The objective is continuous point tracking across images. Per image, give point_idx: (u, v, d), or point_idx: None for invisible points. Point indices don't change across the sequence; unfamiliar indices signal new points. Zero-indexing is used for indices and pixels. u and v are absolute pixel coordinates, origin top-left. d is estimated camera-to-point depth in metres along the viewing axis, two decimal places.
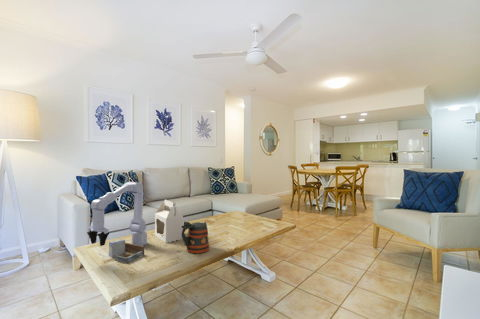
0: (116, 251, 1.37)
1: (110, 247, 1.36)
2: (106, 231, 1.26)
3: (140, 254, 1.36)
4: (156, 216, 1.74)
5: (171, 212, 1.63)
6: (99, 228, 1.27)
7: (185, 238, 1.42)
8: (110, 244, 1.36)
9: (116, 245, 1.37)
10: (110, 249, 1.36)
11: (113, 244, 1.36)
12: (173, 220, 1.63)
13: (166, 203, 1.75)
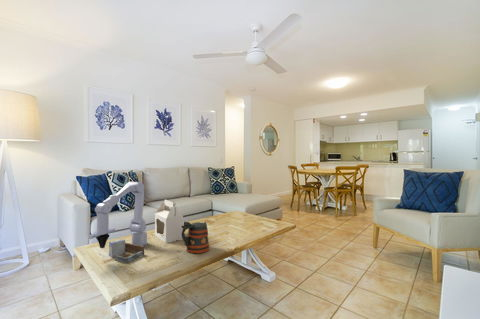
0: (116, 251, 1.37)
1: (110, 247, 1.36)
2: (89, 236, 1.24)
3: (140, 254, 1.36)
4: (156, 216, 1.74)
5: (171, 212, 1.63)
6: (97, 232, 1.29)
7: (185, 238, 1.42)
8: (110, 244, 1.36)
9: (116, 245, 1.37)
10: (110, 249, 1.36)
11: (113, 244, 1.36)
12: (173, 220, 1.63)
13: (166, 203, 1.75)
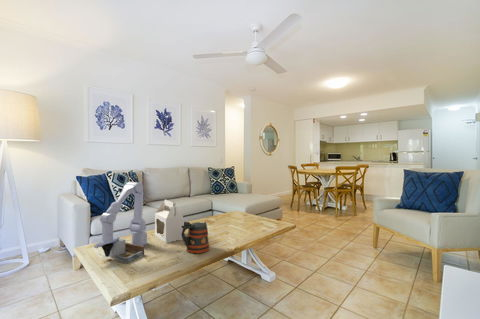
0: (117, 250, 1.37)
1: None
2: (95, 246, 1.27)
3: (140, 254, 1.36)
4: (156, 216, 1.74)
5: (171, 212, 1.63)
6: (102, 241, 1.31)
7: (185, 238, 1.42)
8: None
9: (116, 245, 1.37)
10: None
11: None
12: (173, 220, 1.63)
13: (166, 203, 1.75)
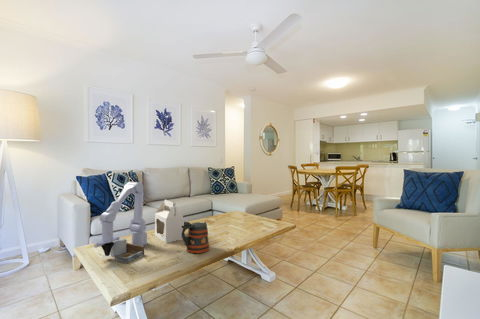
0: (118, 250, 1.38)
1: None
2: (95, 245, 1.27)
3: (140, 254, 1.36)
4: (156, 216, 1.74)
5: (171, 212, 1.63)
6: (101, 240, 1.31)
7: (185, 238, 1.42)
8: None
9: (117, 245, 1.38)
10: (112, 248, 1.37)
11: (115, 243, 1.37)
12: (173, 220, 1.63)
13: (166, 203, 1.75)
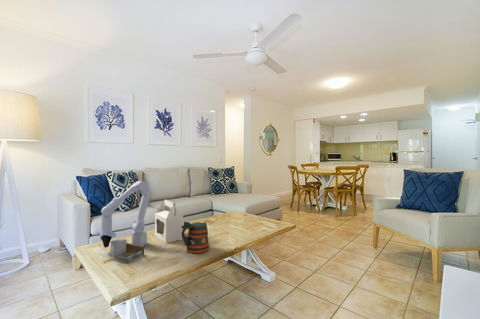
0: (118, 250, 1.38)
1: (112, 246, 1.37)
2: (114, 235, 1.40)
3: (140, 254, 1.36)
4: (156, 216, 1.74)
5: (171, 212, 1.63)
6: (107, 232, 1.41)
7: (185, 238, 1.42)
8: (112, 243, 1.37)
9: (117, 245, 1.38)
10: (112, 248, 1.37)
11: (115, 243, 1.37)
12: (173, 220, 1.63)
13: (166, 203, 1.75)
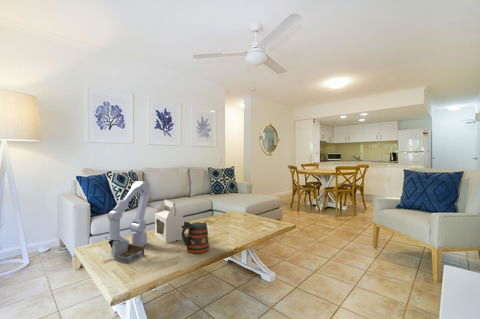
0: (119, 251, 1.37)
1: (114, 247, 1.36)
2: (122, 240, 1.37)
3: (140, 254, 1.36)
4: (156, 216, 1.74)
5: (171, 212, 1.63)
6: (115, 237, 1.38)
7: (185, 238, 1.42)
8: (114, 244, 1.35)
9: (119, 246, 1.36)
10: (113, 249, 1.36)
11: (117, 245, 1.35)
12: (173, 220, 1.63)
13: (166, 203, 1.75)
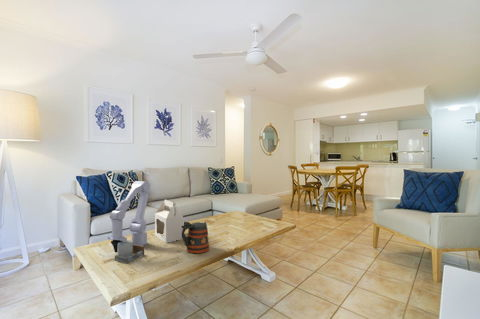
0: (123, 253, 1.34)
1: (117, 248, 1.34)
2: (125, 240, 1.36)
3: (140, 254, 1.36)
4: (156, 216, 1.74)
5: (171, 212, 1.63)
6: (118, 237, 1.37)
7: (185, 238, 1.42)
8: (117, 245, 1.34)
9: (123, 247, 1.34)
10: (117, 250, 1.34)
11: (119, 246, 1.33)
12: (173, 220, 1.63)
13: (166, 203, 1.75)
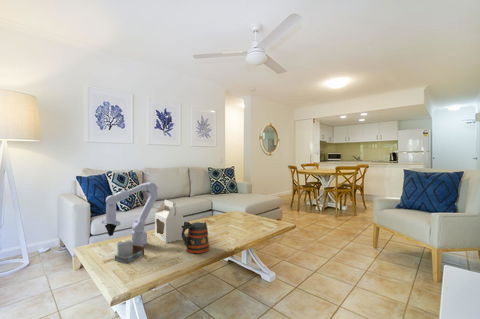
0: (123, 253, 1.34)
1: (117, 248, 1.34)
2: (118, 223, 1.42)
3: (140, 254, 1.36)
4: (156, 216, 1.74)
5: (171, 212, 1.63)
6: (112, 221, 1.43)
7: (185, 238, 1.42)
8: (117, 245, 1.34)
9: (123, 247, 1.34)
10: (117, 250, 1.34)
11: (119, 246, 1.33)
12: (173, 220, 1.63)
13: (166, 203, 1.75)
